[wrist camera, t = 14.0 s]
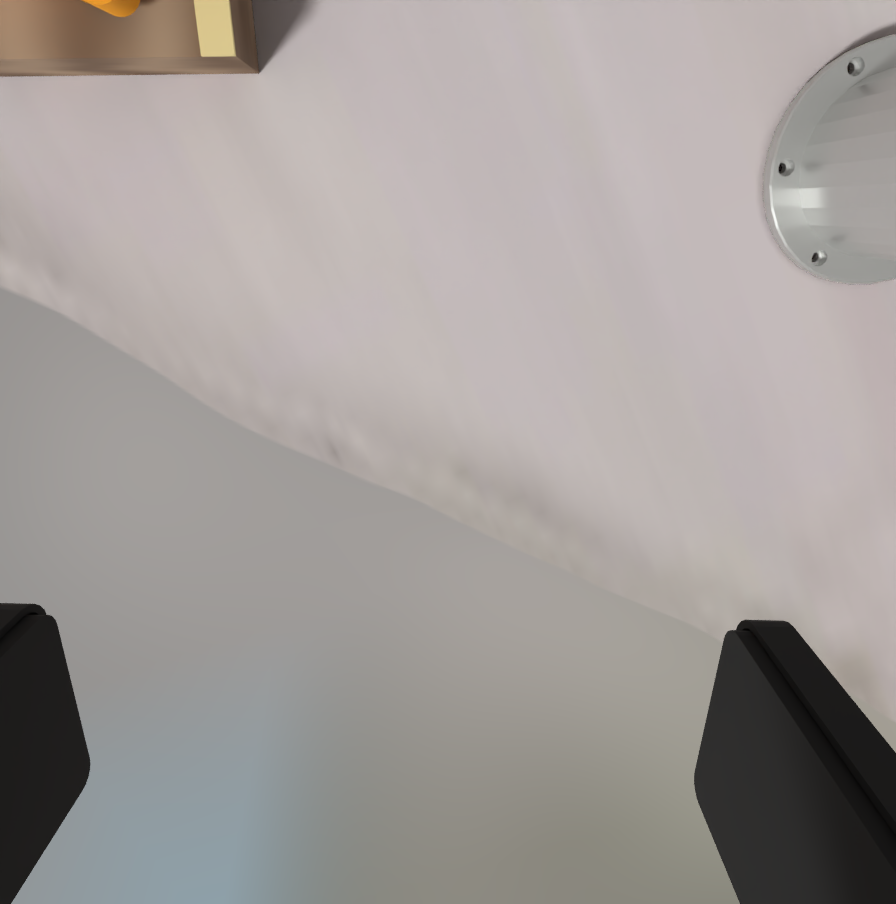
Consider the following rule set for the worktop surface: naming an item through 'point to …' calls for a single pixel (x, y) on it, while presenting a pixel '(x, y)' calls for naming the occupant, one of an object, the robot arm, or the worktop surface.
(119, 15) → the bracket
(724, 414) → the worktop surface
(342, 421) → the worktop surface
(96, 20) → the dock
